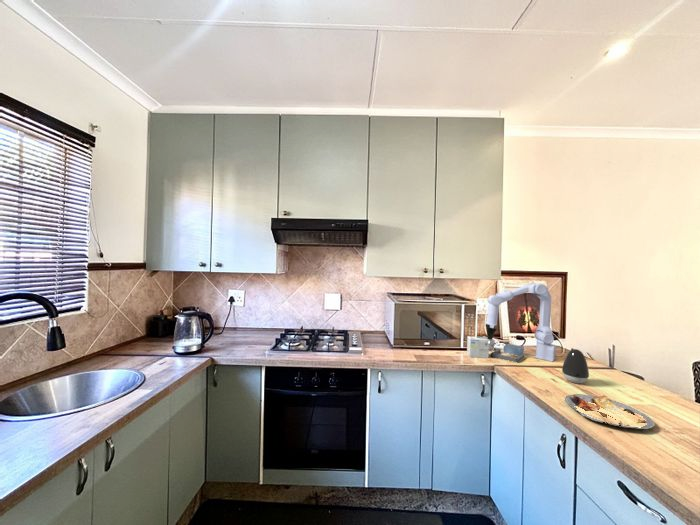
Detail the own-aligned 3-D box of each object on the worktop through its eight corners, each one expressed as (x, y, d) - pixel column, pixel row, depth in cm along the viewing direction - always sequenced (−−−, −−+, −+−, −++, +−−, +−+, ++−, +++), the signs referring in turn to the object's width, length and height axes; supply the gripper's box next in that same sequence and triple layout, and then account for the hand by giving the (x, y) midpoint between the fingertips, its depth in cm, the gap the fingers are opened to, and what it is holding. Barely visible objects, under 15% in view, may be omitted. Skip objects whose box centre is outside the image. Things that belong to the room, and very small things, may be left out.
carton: (523, 354, 188) (523, 346, 188) (519, 356, 182) (519, 349, 182) (507, 350, 194) (508, 343, 194) (503, 353, 189) (503, 345, 189)
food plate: (553, 396, 127) (553, 388, 127) (614, 401, 125) (614, 393, 124) (594, 431, 102) (595, 420, 102) (672, 438, 100) (672, 428, 100)
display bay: (524, 357, 180) (524, 354, 180) (517, 362, 170) (517, 359, 170) (498, 352, 189) (498, 348, 189) (490, 356, 180) (490, 353, 180)
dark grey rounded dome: (583, 379, 148) (584, 347, 148) (592, 387, 138) (593, 353, 138) (558, 375, 152) (559, 345, 152) (565, 383, 142) (567, 350, 142)
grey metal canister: (495, 349, 196) (495, 340, 196) (492, 351, 192) (493, 341, 192) (487, 347, 199) (487, 338, 199) (484, 349, 195) (484, 339, 195)
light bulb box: (484, 354, 183) (485, 336, 183) (488, 358, 176) (489, 339, 176) (466, 353, 184) (466, 335, 184) (469, 357, 177) (470, 338, 177)
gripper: (484, 312, 191) (481, 334, 191) (485, 315, 178) (482, 339, 178) (497, 314, 188) (494, 336, 189) (499, 318, 175) (496, 341, 175)
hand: (489, 338), depth 183 cm, fingers open, 7 cm apart
